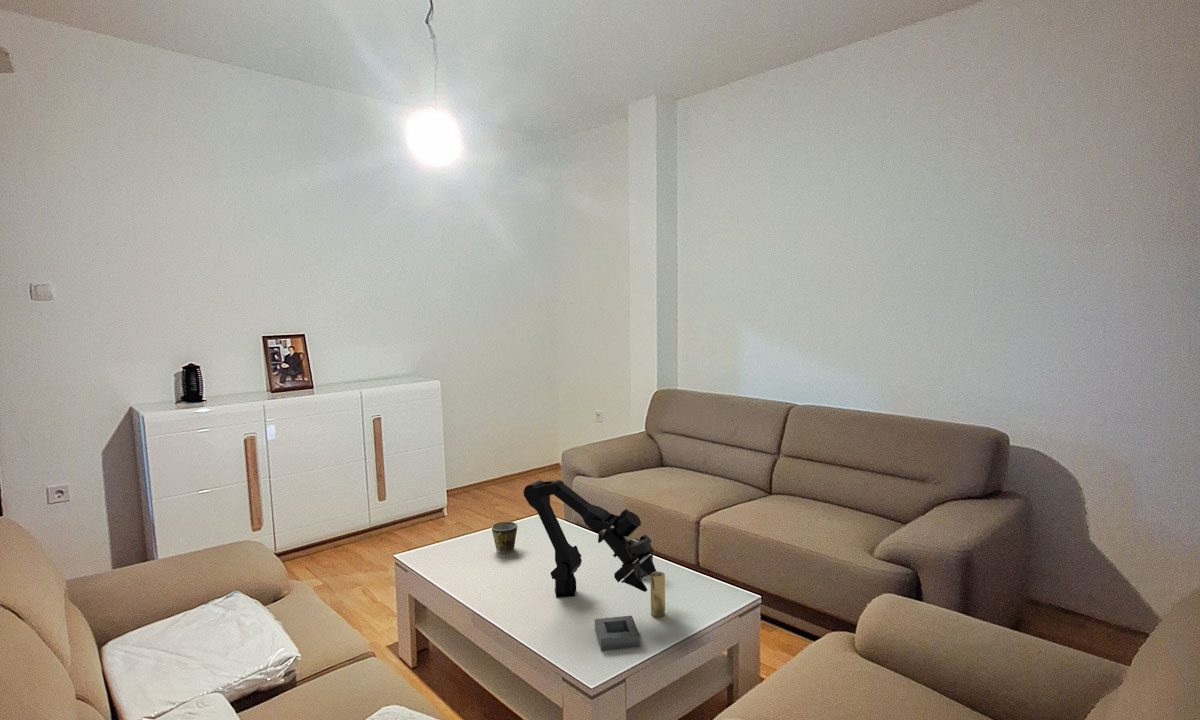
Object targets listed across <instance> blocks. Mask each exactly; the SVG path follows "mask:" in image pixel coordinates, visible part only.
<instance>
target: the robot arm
mask: <svg viewBox="0 0 1200 720" xmlns="http://www.w3.org/2000/svg"><path fill="white" fill-rule="evenodd" d="M553 495H554V496H555V497H556V498H557V499H559V501H562V503H564V504H565V505H567V506H568V507H569V508H571V510H573V511H574V512H576V514H578V515H579V516H580V517H581V519H582V520H583V523H584V524H585V525H586V526H587V527H588V528H589V529H590V530H591V532H593V533H598V534H597V536H598V538H597V539H598V540H597V543H598V544H600V543H602V542H603V541H604V542H605V543H606V545H608V547H609V548H610V549H611V551H612V552H613V553H614V554H612V556H613V557H614V558H618V559H619V560H620V562H621V563H622V564H621V567H619V569H617V571H615V572H614V573H613V574H614V579H615V580H616V582H617V583H619V582H621V583H622V584H623V583H624V584H626V585H629V586H632V587H633V588H635V589H637V590H639V591H642V592H643V593H646V592H647V591H648V588H647V586H646V585H645V583H644V582H643V579H642V578H639V576H638V574H637V568H636V569H635V570H634V566H635V565H636V564H637V563H638V564H639V563H641V564H640V565H639V567H640V568H642V569H643V570H644V571H646V572H647V573H648V574H649V575H648V576H651V573H652V572H656V571H657V569H656V566H655V565H654V564H655V563H654V561H653V559H654V555H655V554H654V550H655V549H654V548H653V546H652V544H651V543H652V542H653V541H652V539H651V538H650V537H649V536H648V535H647V534H644V535H641V536H640V537H639V540H640V541H638V542H636V543H634V542H633V541H632V539H629V540H628V539H627V538H628V537H630V536H631V535H632V534H633V533H634V532H635V531H636V530H637V529H639V527H641V525H642V522H641V519H640V517H639V515H637V514H636V513H634V512H633V511H629V510H628V508H625V509H624V510H623V511H621V513H620V514H619V515H616V514H614V513H610V512H609V511H608V510H607V509H605V508H603V507H601V506H598V505H595V504H592V503H590V502H588V501H587V500H585V498H583V497H582V496H580V495H579V494H578V493H577V492H576V491H574V490H573V489H572V488H570V487H569V486H567V485H566V483H564V481H563V480H561V479H556V480H547V481H543V480H541V479H539V480H535V481H534V482H531V483H530V484H528V485H526V486H525V487H524V489H523V497H524V498H525V500H526V502H527V503H528V505H529V506H530V507H531V508H533V509H534V510H535V511H536V513H537V514H538V516H539V519H540V520H541V523H542V525H543V527H544V530H545V531H546V534H547V536H548V538H549V540H550V542H551V545H552V547H553V549H554V562H555V565H556V567H555V568H554V569H553V570H552V571H550V576H551V578H552V580H554V594H555V598H567V597H568V598H569V597H575V596H577V595H576V593H577V579H576V577H575V573H577V570H578V569H579V568H580V567H581V565H582V562H583V560H582V554H581V553H580V551H579V549H578V546H577V545H574V546H573V545H571V544H570V543H569V542H568V540H567V538H566V535H565V534H564V532H563V529H562V527H561V526H560V523H559V520H558V518H557V516H556V514H555V512H554V509H553V507H552V505H551V496H553ZM612 526H613V527H612ZM626 537H627V538H626Z"/></svg>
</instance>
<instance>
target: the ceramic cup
mask: <svg viewBox="0 0 1200 720" xmlns="http://www.w3.org/2000/svg"><path fill="white" fill-rule="evenodd" d="M491 531H492V537H493V539H494V544H495V549H496V552H498V554H505V555H507V554H510V553H513V551H514V550H515V546H516V545H515V544H516V538H517V533H518V532H517V531H518V523H516V522H514V521H505V520H504V521H498V522H496V523H494V524H492V526H491Z"/></svg>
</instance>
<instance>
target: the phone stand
mask: <svg viewBox="0 0 1200 720" xmlns="http://www.w3.org/2000/svg"><path fill="white" fill-rule="evenodd" d="M631 540H632V541H633V542H634V543H636V542H638V541H640V538H639V539H638V538H637V537H635V538H632V539H631ZM640 564H641V563H639V564H638V563H637V564H636V565H635V566H634V570H635V569H636V568H637V574H638V576H639V578H640V579H642V578H645V577H646V576H650V575H649V574H648V573H647V572H646V571H644V570H643V569H642V568H640V567H639V565H640Z"/></svg>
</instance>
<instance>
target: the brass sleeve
mask: <svg viewBox="0 0 1200 720" xmlns="http://www.w3.org/2000/svg"><path fill="white" fill-rule="evenodd" d="M650 616H651V617H652V618H654V619H663V618H665V616H666V574H665V572H662V571H657V570H656V572H652V573H651V575H650Z"/></svg>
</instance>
